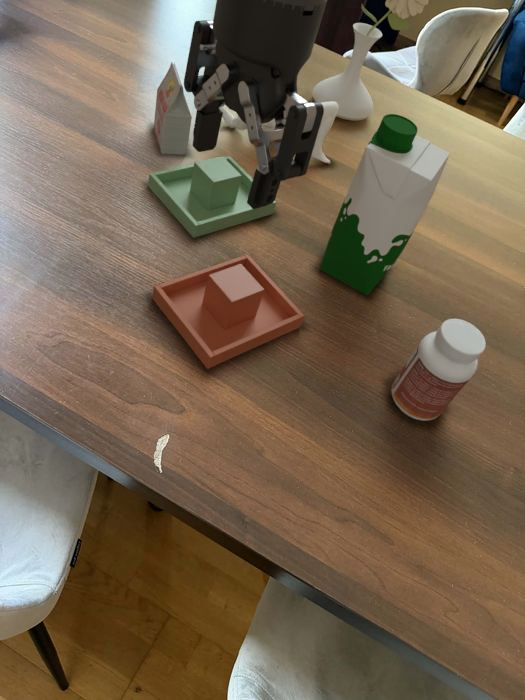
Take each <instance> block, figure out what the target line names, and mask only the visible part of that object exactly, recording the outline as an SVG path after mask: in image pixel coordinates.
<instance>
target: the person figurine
mask: <svg viewBox="0 0 525 700" xmlns="http://www.w3.org/2000/svg"><path fill="white" fill-rule="evenodd" d="M321 104H322V105H323V108H324V114H323V117H322V121H321V124H320V128H319V131H318V134H317V138H316V141H315V145H314V148H313V151H312V155H311V158H310V159H312V160H316V161H320V162H322V163H325V164H328V165H329V164H331V160H330V159H329V158H327V157H326V155H325V153H324V151H323V149H322V148H323V144H324V141H325V139H326V137H327V135H328V134H329V132H330V130H331V128H332V126H333V125H334V122H335V119H336V117H335V116H336V115H337V113H338V110H339V105H338V104H337V102H334V101H330V102H322V103H321ZM219 109H220V110H221V111H222V112H223V115H222V119H223V121H224V122H225V124H226V125H227V126H228V127H229V128H230V129H237V130H241V131H244V130H247V125H246V124H245V123H244V122H243V121H242V120H241V119H240V117H239V116H238V115H237V116H234V115H233V114H232V113H231V112H230V111H228V109H226V108H225V107H224V106H223V107H219ZM261 125H262V128H263V130H264V131H266V132H267V131H272V130H274V128H275V118H274V119H273V120H271V121H270V122H268V123H263V124H261Z"/></svg>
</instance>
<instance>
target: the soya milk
mask: <svg viewBox="0 0 525 700" xmlns="http://www.w3.org/2000/svg"><path fill="white" fill-rule="evenodd" d="M418 130H419V129H418V126H417V125H416V123H414V121H412V120H411V119H409V118H407V117H405V116H403V115H400V114H395V113H387V114H385V115H383V117H382V119H381V121H380V124H379V126H378V128H377V130H376V131H375V132H374V134H373V136H372V138H371V140H370V141H369V142H368V143H367V145H366V147H365V148H364V151H363V153H362V155H361V159H360V161H359V163H358V165H357V167H356V171H355V173H354V175H353V177H352V180H351V182H350V185H349V187H348V190H347V192H346V195H345V197H344V199H343V202H342V205H341V207H340V209H339V212H338V214H337V216H336V219H335V222H334V224H333V226H332V229H331V232H330V235H329V238H328V241H327V245H326V248H325V250H324V254H323V257H322V260H321V264H320V267H319V271H321V272H324V273H325V274H327V275H329V276H331V277H332V278H334V279H336V280H338V281H339V282H341V283H342V284H345V285H346V286H347V285H348V287H350V288H352V289H354V290H356V291H357V292H359V293H362V294H363V295H365V296H366V297H368V296H369V294H370V293H372V291H373V290H374V289H375V287H376V286H377V285H378V284H379V283H380V282H381V281H382V279H383V278H384V277H385V275H386V274H388V272H389V271H390V270H391V268H392V267H394V264H395V263H396V261H397V260H398V259H399V257H400V256H401V254H402V253H403V251H404V250H405V248H406V246H407V244H408V243H409V240H410V239H411V237H412V235H413V234H414V232H415V230H416V228H417V227H418V225H419V222H420V221H421V218H422V217H423V216H424V213H425V212H426V209H427V208H428V205H429V203H430V201H431V200H432V198H433V196H434V193H435V191H436V189H437V186H438V184H439V181H440V179H441V177H442V175H443V172H444V169H445V167H446V164H447V162H448V160H449V158H450V155H451V152H449V151H447V150H445V149H443V148H441V147H439V146H437V145H435V144H433V143H431V141H430V140H428V139H426V138H424V137H420V136H419V135H418V134H417V133H418Z"/></svg>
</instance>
